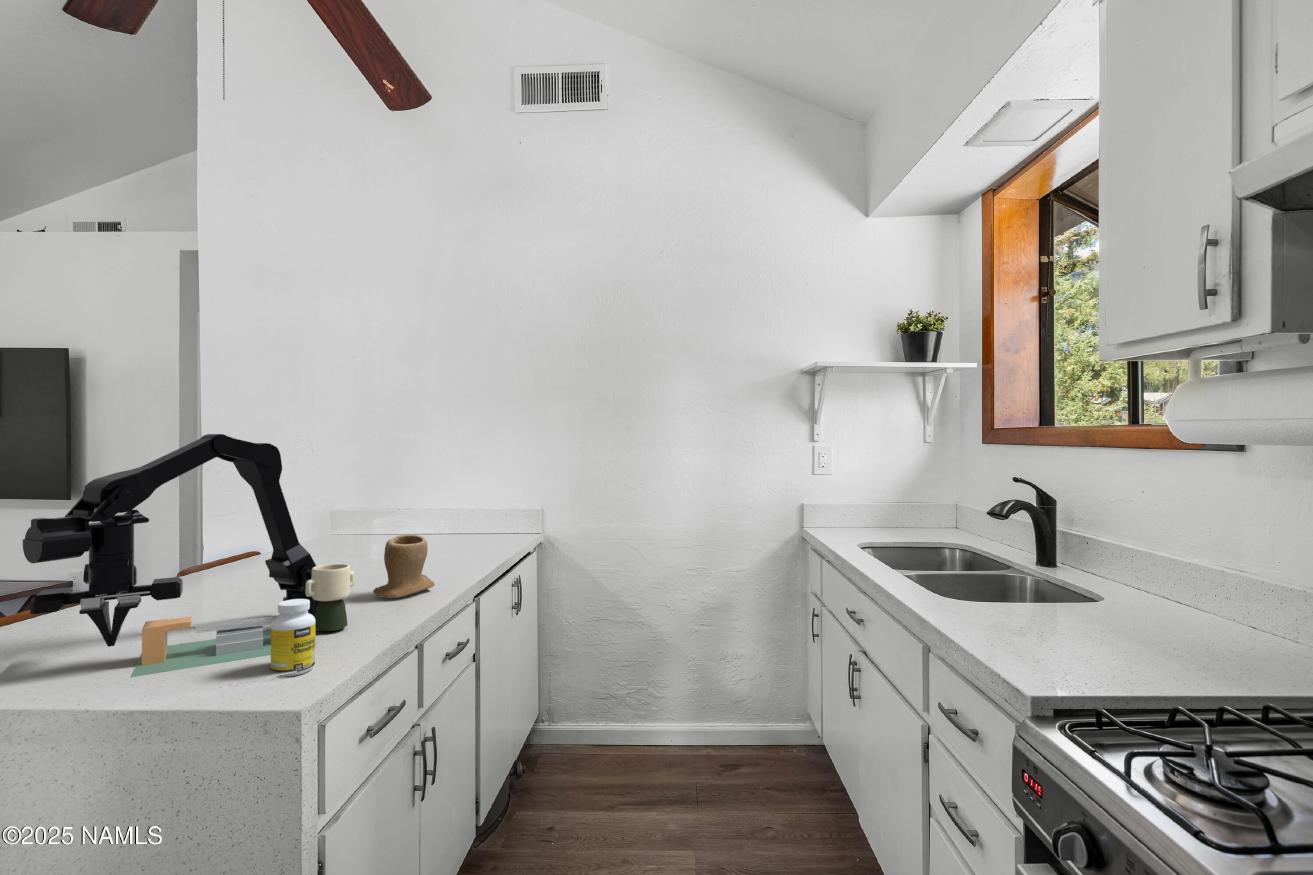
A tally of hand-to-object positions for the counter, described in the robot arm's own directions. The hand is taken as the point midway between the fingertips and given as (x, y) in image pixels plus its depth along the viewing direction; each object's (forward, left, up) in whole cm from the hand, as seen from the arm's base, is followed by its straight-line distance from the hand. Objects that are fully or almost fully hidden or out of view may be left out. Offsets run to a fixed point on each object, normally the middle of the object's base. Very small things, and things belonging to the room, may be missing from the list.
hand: (111, 645), depth 104 cm
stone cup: (-53, -29, -5) cm, 61 cm away
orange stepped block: (-7, 0, -3) cm, 8 cm away
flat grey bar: (-18, 0, 0) cm, 18 cm away
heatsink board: (-15, 0, -4) cm, 16 cm away
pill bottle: (-25, +16, -5) cm, 30 cm away
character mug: (-33, -6, -5) cm, 34 cm away
